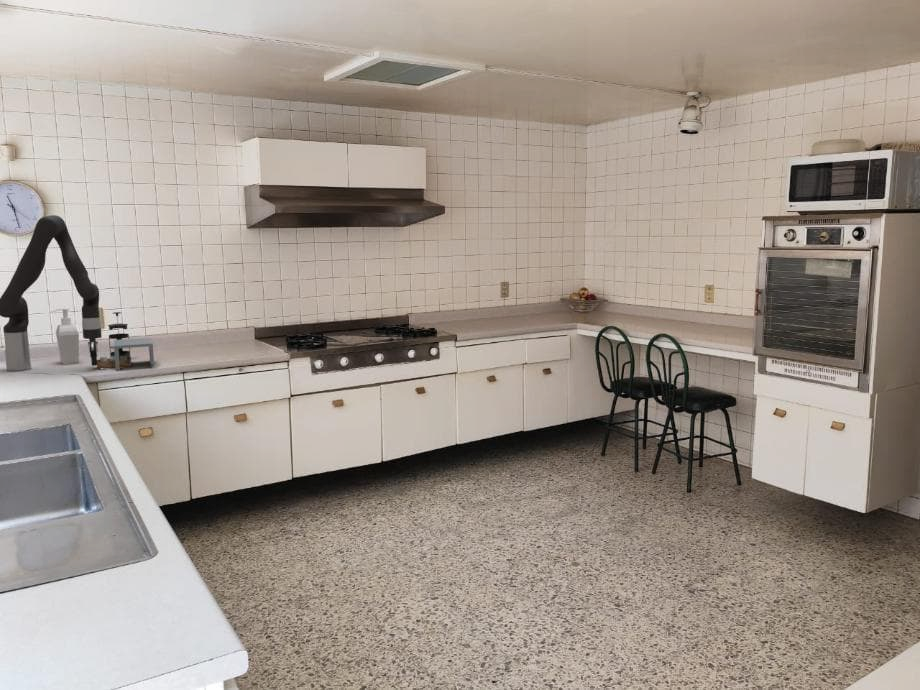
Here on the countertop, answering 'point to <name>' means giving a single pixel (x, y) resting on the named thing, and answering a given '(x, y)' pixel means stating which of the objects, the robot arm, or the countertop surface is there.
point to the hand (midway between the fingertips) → (94, 365)
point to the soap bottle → (67, 339)
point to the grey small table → (133, 343)
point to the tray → (113, 362)
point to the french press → (118, 337)
